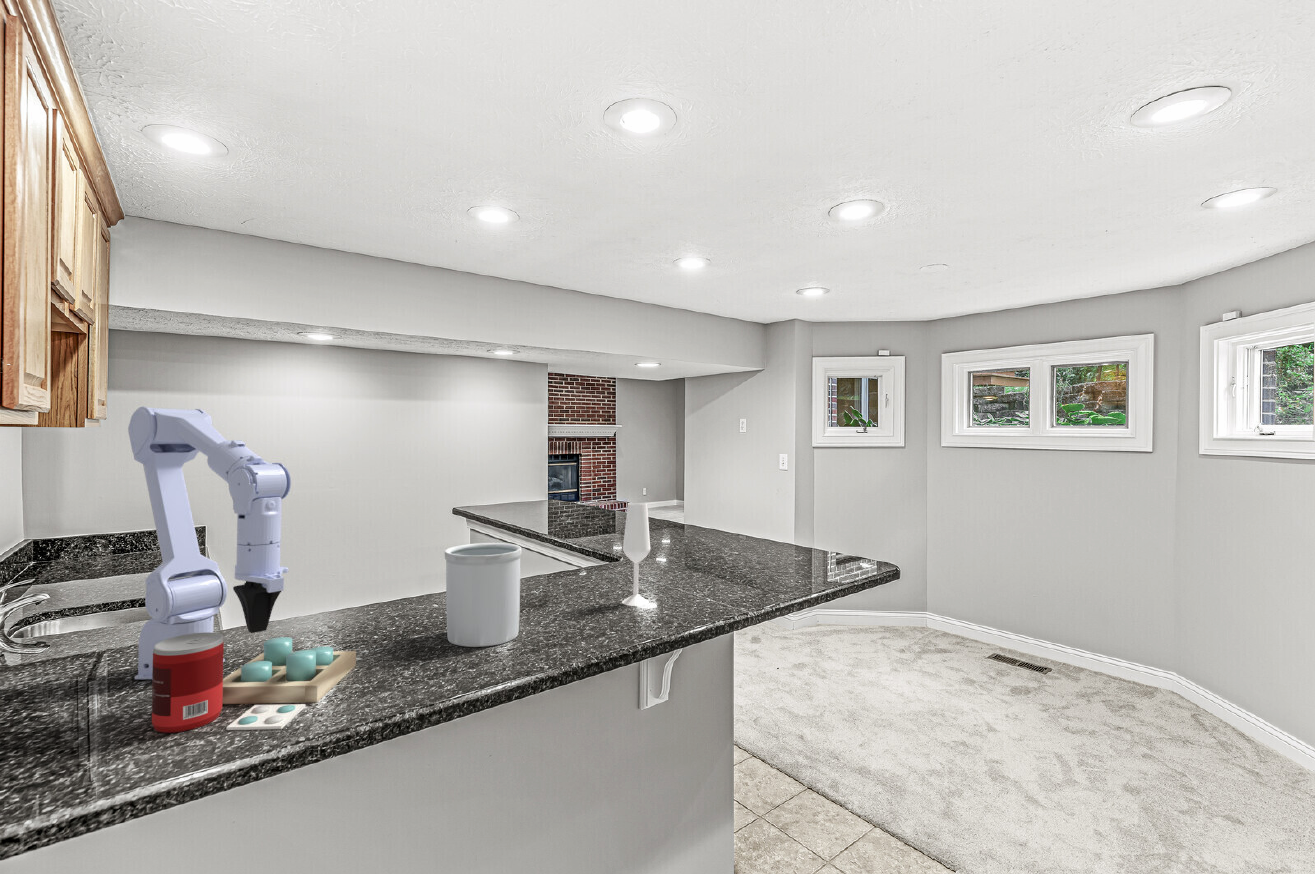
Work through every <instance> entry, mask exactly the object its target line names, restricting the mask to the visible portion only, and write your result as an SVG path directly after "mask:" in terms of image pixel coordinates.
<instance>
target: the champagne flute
mask: <svg viewBox="0 0 1315 874" xmlns="http://www.w3.org/2000/svg"><path fill="white" fill-rule="evenodd" d="M649 523H650V521H649V510H648V503H646V502H628V503H627V510H626V518H625V526H624V534H623V535H624V536H623V543H622V544H623V545H622V550H623V553H624V555H625V556H626V557H627V558H628V559H629V560H630V561H631V562H633V587H632V589H633V590H632V591H633V594H631V595H630V596H629V597H627V598H624V600H622V601H621V604H623V605H626V606H631V607H641V606H647V605H649V604H650V601H649V600H647V599H646V598H644V597H642V596H641V595H640V594H639V573H640V572H639V569H640V568H639V566H640V565H639V564H640V563H641V562H643V560H644V559H646V557H647V556H648V555H649V553H650V552H651V540H650V537H651V536H650V526H649Z"/></svg>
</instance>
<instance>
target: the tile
mask: <svg viewBox="0 0 1315 874" xmlns="http://www.w3.org/2000/svg"><path fill="white" fill-rule="evenodd" d="M305 708H306V703H300V704H299V703H293V704H292V703H281V704H254V705H253V706H251V707H250V708H249V709H248V710H247V711H245V712H244V713H243V714H242V715H240V716H239V717H238V718H236V719H235V720H234V721H233V722H231V723H230V724H229V725H227V726H226V731H250V730H253V731H254V730H259V731H260V730H282V729H284V727H286V725H288V724H289V723H290V722H291V721H292V720H293V719H294V718H296V717H297V715H298V714H299V713H300V712H301V711H303V709H305Z"/></svg>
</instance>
